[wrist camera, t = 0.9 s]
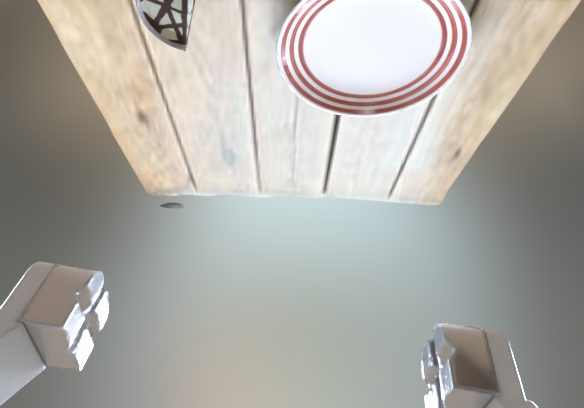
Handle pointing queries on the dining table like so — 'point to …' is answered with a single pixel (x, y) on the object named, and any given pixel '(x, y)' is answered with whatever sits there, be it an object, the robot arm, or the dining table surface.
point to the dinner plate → (372, 52)
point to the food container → (168, 20)
